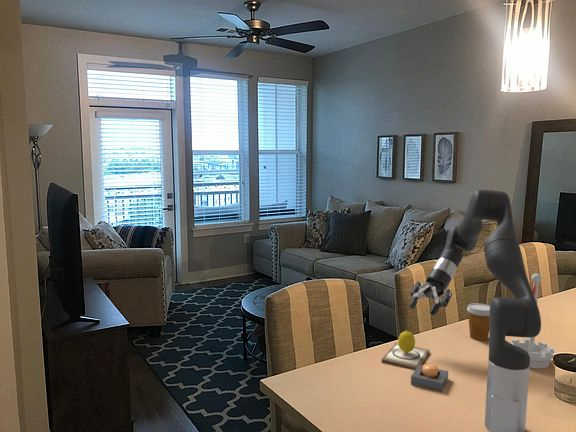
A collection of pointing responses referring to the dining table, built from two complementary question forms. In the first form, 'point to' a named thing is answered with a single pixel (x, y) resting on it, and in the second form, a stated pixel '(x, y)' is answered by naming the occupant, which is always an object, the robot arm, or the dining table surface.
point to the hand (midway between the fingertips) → (421, 311)
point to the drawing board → (405, 357)
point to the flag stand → (537, 352)
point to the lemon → (406, 341)
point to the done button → (430, 371)
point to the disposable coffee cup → (479, 321)
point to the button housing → (429, 379)
